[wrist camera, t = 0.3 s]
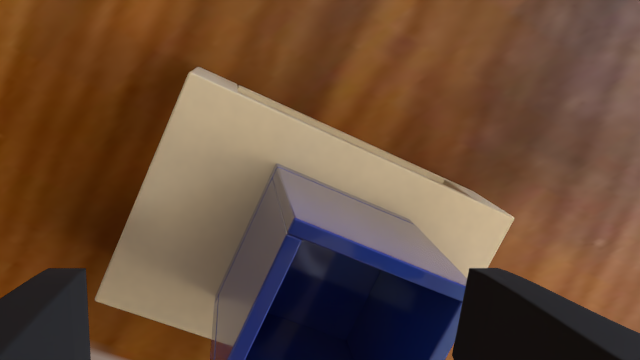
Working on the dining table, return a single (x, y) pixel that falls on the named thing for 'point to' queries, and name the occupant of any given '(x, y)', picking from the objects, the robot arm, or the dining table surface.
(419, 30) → the dining table surface
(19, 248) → the dining table surface
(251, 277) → the box
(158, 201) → the beige flat block
